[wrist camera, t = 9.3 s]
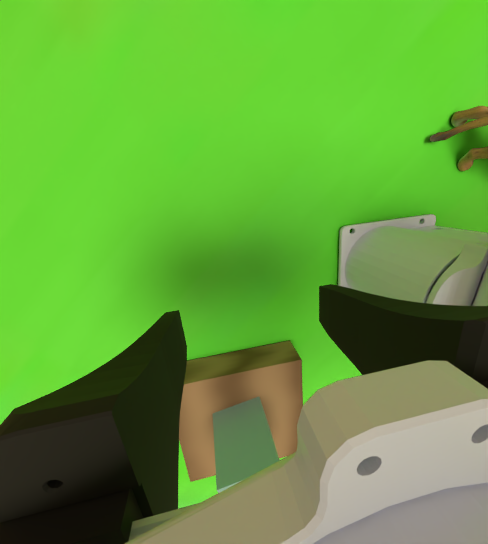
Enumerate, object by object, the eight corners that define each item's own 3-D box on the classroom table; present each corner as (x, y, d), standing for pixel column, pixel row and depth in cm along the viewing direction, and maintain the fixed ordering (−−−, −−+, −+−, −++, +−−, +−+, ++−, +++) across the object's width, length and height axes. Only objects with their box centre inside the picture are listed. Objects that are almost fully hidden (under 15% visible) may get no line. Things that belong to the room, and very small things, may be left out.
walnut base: (289, 340, 24) (301, 359, 22) (293, 426, 28) (304, 451, 26) (169, 364, 23) (165, 388, 20) (191, 451, 27) (190, 481, 24)
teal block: (259, 396, 22) (279, 465, 16) (270, 429, 24) (292, 502, 18) (212, 413, 22) (217, 490, 16) (226, 445, 23) (235, 525, 18)
